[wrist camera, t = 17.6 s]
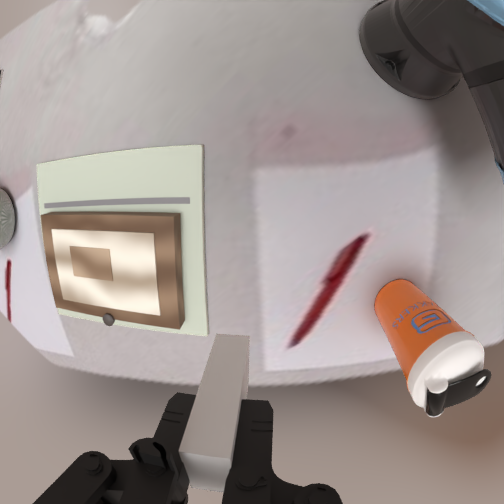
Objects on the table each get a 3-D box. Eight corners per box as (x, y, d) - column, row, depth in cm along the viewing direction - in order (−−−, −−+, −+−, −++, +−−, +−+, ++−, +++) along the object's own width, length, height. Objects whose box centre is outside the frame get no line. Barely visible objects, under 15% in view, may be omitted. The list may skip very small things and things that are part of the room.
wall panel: (40, 163, 35) (36, 164, 34) (203, 145, 33) (201, 144, 32) (61, 311, 43) (58, 314, 42) (208, 332, 41) (207, 336, 40)
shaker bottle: (426, 310, 38) (494, 395, 19) (377, 337, 40) (424, 437, 21) (414, 261, 36) (499, 337, 17) (359, 290, 38) (416, 390, 18)
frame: (50, 211, 36) (38, 215, 33) (180, 212, 35) (171, 217, 32) (65, 305, 41) (55, 313, 38) (185, 325, 39) (179, 337, 36)
